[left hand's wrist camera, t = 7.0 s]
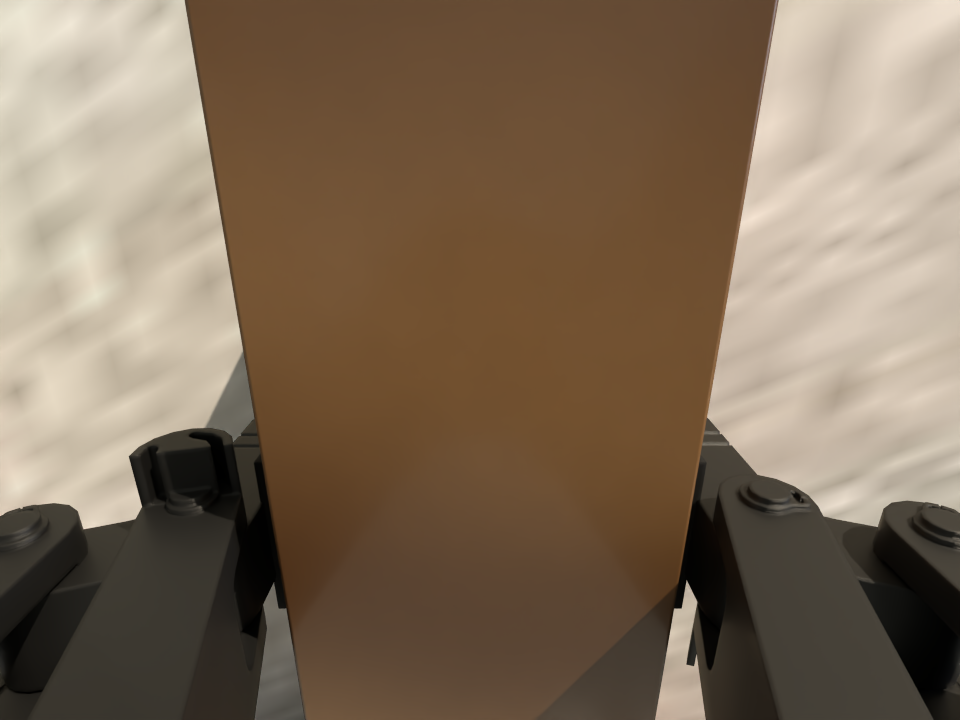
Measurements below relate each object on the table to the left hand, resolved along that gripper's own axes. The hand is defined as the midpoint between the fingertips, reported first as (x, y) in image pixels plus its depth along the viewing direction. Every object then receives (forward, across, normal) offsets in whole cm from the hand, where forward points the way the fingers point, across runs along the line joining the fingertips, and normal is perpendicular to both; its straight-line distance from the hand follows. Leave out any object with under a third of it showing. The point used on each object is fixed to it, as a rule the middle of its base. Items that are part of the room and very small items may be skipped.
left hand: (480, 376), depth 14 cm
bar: (+1, 0, -30) cm, 30 cm away
